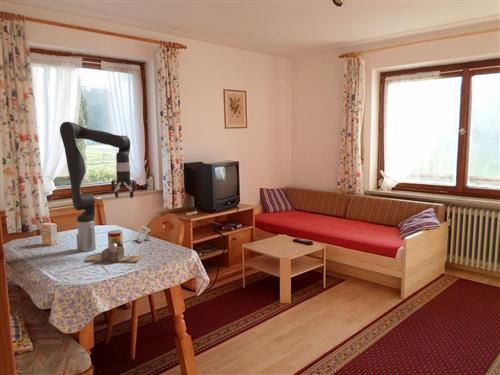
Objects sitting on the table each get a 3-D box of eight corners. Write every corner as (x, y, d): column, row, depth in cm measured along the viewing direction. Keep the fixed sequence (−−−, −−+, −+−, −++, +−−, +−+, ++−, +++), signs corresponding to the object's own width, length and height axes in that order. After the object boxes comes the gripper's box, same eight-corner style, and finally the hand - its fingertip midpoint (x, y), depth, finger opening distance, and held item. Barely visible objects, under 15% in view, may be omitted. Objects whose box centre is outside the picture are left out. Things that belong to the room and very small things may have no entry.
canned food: (125, 251, 224) (124, 231, 223) (112, 254, 219) (111, 234, 217) (119, 249, 230) (118, 229, 228) (106, 251, 224) (105, 231, 223)
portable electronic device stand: (134, 240, 249) (134, 227, 248) (146, 238, 254) (145, 226, 253) (141, 243, 243) (140, 230, 242) (152, 241, 248) (151, 228, 247)
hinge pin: (108, 261, 207) (107, 244, 206) (111, 258, 211) (110, 242, 210) (115, 261, 207) (115, 244, 206) (118, 259, 211) (118, 242, 210)
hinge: (84, 262, 206) (83, 251, 205) (91, 257, 214) (91, 246, 213) (136, 262, 204) (136, 251, 203) (142, 258, 212) (141, 247, 211)
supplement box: (41, 244, 241) (40, 223, 239) (48, 242, 245) (47, 222, 243) (51, 245, 238) (50, 225, 236) (58, 243, 242) (56, 223, 240)
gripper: (108, 170, 222) (109, 198, 224) (132, 170, 221) (133, 199, 223) (114, 169, 229) (115, 196, 231) (137, 169, 228) (138, 197, 230)
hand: (124, 197), depth 227 cm, fingers open, 8 cm apart
